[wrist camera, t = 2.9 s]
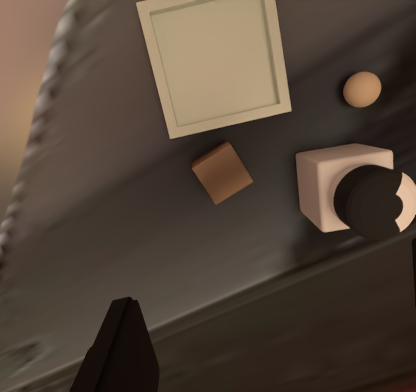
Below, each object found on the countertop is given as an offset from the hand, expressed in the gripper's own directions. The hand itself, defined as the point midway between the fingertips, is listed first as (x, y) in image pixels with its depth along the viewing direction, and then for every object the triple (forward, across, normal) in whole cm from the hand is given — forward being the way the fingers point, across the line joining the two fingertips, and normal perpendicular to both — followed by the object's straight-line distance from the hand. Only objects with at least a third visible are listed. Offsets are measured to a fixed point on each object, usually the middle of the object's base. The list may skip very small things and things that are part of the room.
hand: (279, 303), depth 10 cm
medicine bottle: (+27, -12, +4) cm, 29 cm away
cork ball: (+26, -16, -5) cm, 31 cm away
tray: (+26, -2, -11) cm, 29 cm away
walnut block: (+26, 0, 0) cm, 26 cm away
